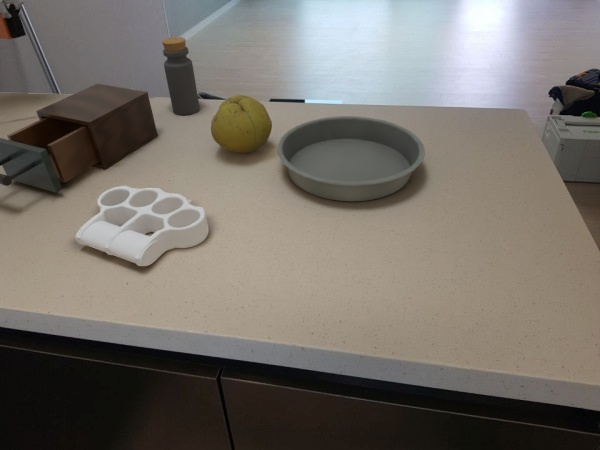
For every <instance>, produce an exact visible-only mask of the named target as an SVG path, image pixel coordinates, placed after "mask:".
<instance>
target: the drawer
mask: <svg viewBox="0 0 600 450" xmlns="http://www.w3.org/2000/svg"><path fill="white" fill-rule="evenodd" d="M98 162H99V158H98V155H97V152H96V149H95V146H94V143H93V140H92V137H91V134H90V131H89V128H88V126H86V125H81V124H77V123H72V122H67V121H63V120H58V119H53V118H48V117H45V118H43V119H41V120H37V121H35V122H33V123H30V124H29V125H26V126H24V127H22V128H20V129H17V130H15V131H13V132H11V133H9V134H7V139H6V138H3V137H2V138H1V137H0V167H1V166H2V168H3V171H4V172H5V173H4V174H3V173H0V185H3V186H6V187H8V186H10V185H12V183H13V182H18V183H21V184H25V185H28V186H30V187H36V188H39V189H42V190H45V191H49V192H52V193H56V194H57V193H59V192H61V191H62V190H63V187H62V185H61V183H65V184H66V183H67V182H69V181H71V180H72V179H74V178H75V177H77V176H79V175H80V174H82V173H84V172H85V171H87V170H88V169H90V168H91V166H93V165H95V164H96V163H98Z"/></svg>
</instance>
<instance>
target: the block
mask: <svg viewBox="0 0 600 450" xmlns="http://www.w3.org/2000/svg"><path fill="white" fill-rule="evenodd" d="M1 13H2V14H0V39H3V40H9V41H10V40H14V38H12V37H11V35H10V33H9V30H8V27H7V25H6V22H5V19H4V18H7V17H6V16H5V14H4V12H1Z"/></svg>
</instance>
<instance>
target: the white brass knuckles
mask: <svg viewBox="0 0 600 450" xmlns="http://www.w3.org/2000/svg"><path fill="white" fill-rule="evenodd" d="M192 202H193V199H187V198H186V197H185V196H183V195H182V194H180V193H178V192H177V193H172V192H167V191H164V190H163V189H162V188H159V187H145V188H134V187H131V186H129V185H119V186H115V187H112V188H109V189H107V190H104V192H102V193H101V194H100V195H99V196H98V197H97V200H96V204H97V207H98V210H99V212H98V213H97V214H95V215H94V216H92V217H91V218H89V219H88V221H86V222H85V223H84V224H82V225H81V227H80V228H79V229H78V231H77V232H76V233H75V236H74V238H75V241H76V243H78V245H80V246H87V247H90V248H93V249H95V250H97V251H100V252H103V253H106V254H107V255H108V256H114V257H117V258H119V259H123V260H125V261H127V262H131V263H132V264H133V263H134V264H136V266H139V267H148V266H150V265H152V264H153V263H155V262H156V261H157V260H158V259H159V258H161V256H162V255H163V254H165V253H166V252H167V251H170V250H173V249H188V248H192V247H195V246H197V245H200V244H201V243H203V242H204V241H205V240H206V239H207V237H208V235H209V231H210V230H209V223H208V219H207V214H206V210H205V209H204V208H203V207H202V206H196V205H193V204H191V203H192ZM149 233H153V234H151V235H148V234H149Z"/></svg>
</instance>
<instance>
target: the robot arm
mask: <svg viewBox="0 0 600 450" xmlns="http://www.w3.org/2000/svg"><path fill="white" fill-rule="evenodd" d="M24 3H25V0H0V8H1V10H2V12H0V14H2V13H4V14H5V16H6V17H7V18H4V19H5V22H6V25H7V27H8V30H9V33H10V35H11V37H12V38H13V39H17V38H21V37H25V36H26V35H27V34H26V33H27V32H26V30H25V28H24V25H23V22H22V19H21V17H20V16H21V15H22V13H21V9H22V6H23V5H24ZM7 4H9V6H8V5H7Z"/></svg>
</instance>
